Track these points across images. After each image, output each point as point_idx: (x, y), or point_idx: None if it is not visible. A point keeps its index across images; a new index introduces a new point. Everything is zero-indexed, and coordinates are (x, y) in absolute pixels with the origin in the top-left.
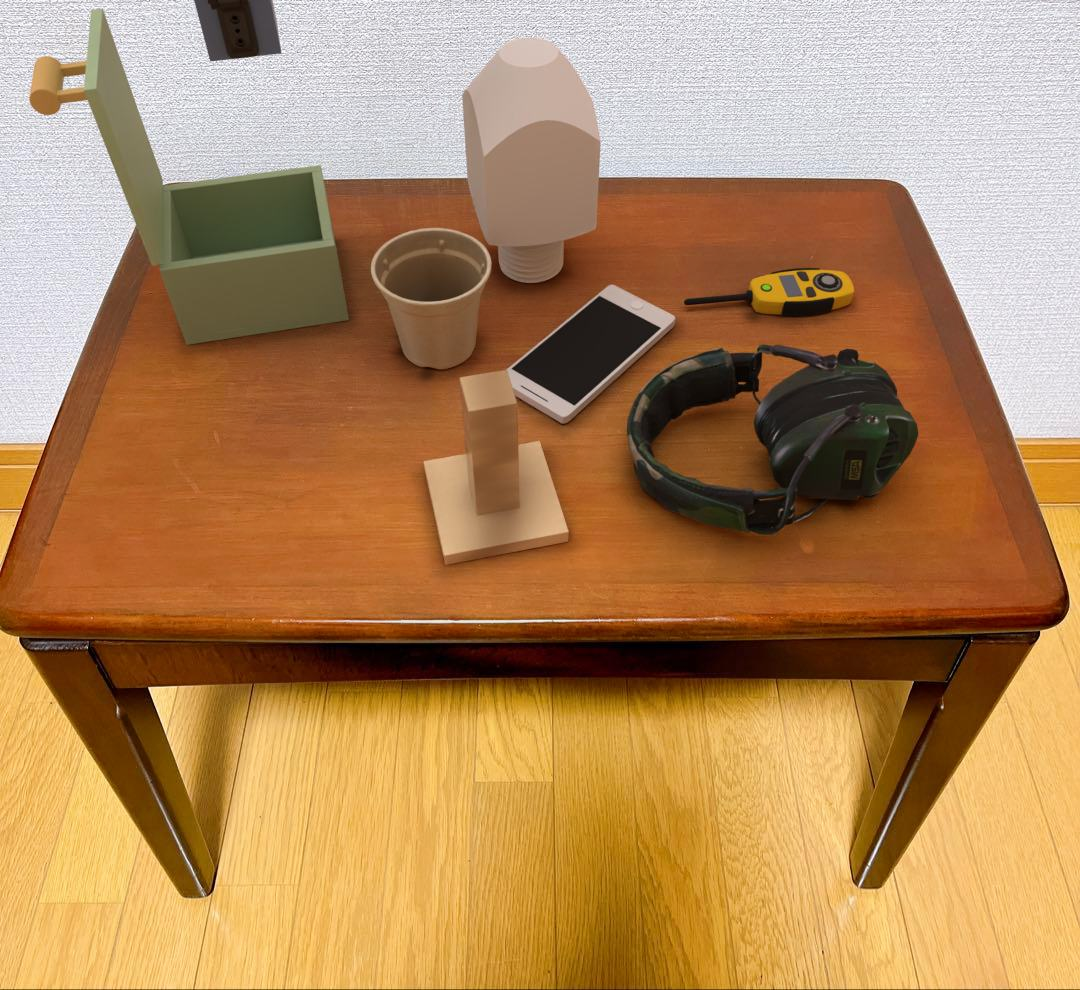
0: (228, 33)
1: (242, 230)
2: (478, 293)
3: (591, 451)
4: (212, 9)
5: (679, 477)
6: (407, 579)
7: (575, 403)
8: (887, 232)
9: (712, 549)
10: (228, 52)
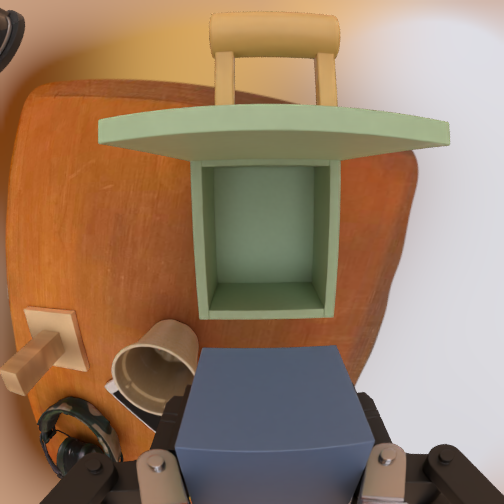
0: (160, 422)
1: (317, 218)
2: (138, 396)
3: (91, 387)
4: (88, 454)
5: (46, 415)
6: (21, 287)
7: (113, 394)
8: None
9: (50, 403)
10: (185, 389)
